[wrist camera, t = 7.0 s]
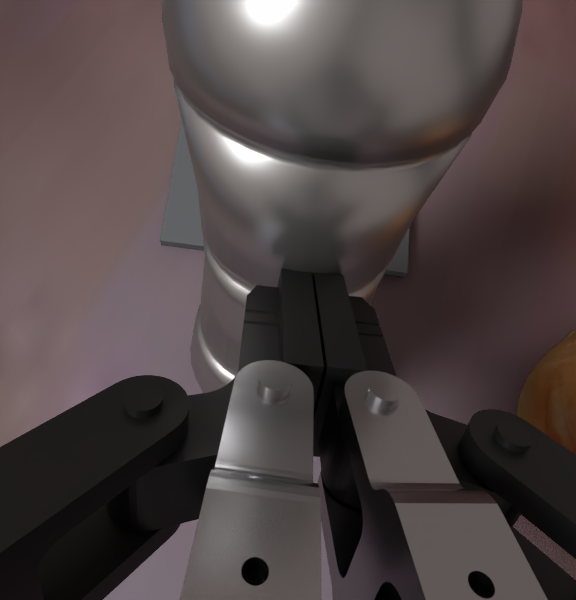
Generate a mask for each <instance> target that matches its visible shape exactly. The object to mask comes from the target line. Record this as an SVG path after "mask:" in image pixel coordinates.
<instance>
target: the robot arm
mask: <svg viewBox="0 0 576 600" xmlns="http://www.w3.org/2000/svg"><path fill="white" fill-rule="evenodd" d="M313 456H317V457H320V461H321V472H320V476H319V479H318V483H317V484H316V483H313ZM521 514H522V515H523V516H524V517H525V518H527V519H528V520H529V521H530V522H531V523H533V524H534V525H535V526H536V527H537V528H539V529H540V530H541V531H542V532H544V533H545V534H546V535H547V536H548V537H550V538H551V539H552V540H553V541H554V542H556V543H557V544H558V545H559V546H561V547H562V548H563V549H564V550H565V551H567V552H568V553H569V554H570V555H571V556H573V557H574V558H575V559H576V455H575V454H574V453H572V452H571V451H569V450H568V449H566V448H565V447H563V446H562V445H561V444H559V443H558V442H556V441H555V440H553V439H552V438H550V437H549V436H547V435H546V434H545V433H543V432H542V431H540V430H539V429H537V428H536V427H534V426H533V425H532V424H530V423H528V422H527V421H525V420H524V419H522V418H520V417H518V416H516V415H513V414H511V413H508V412H504V411H500V410H483V411H479V412H477V413H475V414H474V415H473V416H472V418H471V420H470V422H469V424H468V425H466V424H463V423H460V422H457V421H454V420H451V419H448V418H445V417H442V416H439V415H436V414H434V413H431V412H429V411H427V410H425V408H424V406H423V404H422V402H421V400H420V398H419V396H418V394H417V393H416V392H415V390H414V389H413V388H412V387H411V386H410V385H409V384H407V383H406V382H405V381H403V380H401V379H400V378H398V377H396V374H395V371H394V368H393V365H392V362H391V359H390V356H389V353H388V350H387V346H386V343H385V340H384V338H383V334H382V331H381V328H380V327H379V322H378V319H377V316H376V313H375V310H374V309H373V308H372V307H371V306H370V305H369V304H368V303H367V302H366V301H365V300H364V299H363V297H356V296H349V295H348V291H347V287H346V283H345V279H344V276H343V275H341V274H329V273H314V274H313V278H312V273H311V272H303V271H294V270H289V269H283V268H281V272H280V277H279V281H278V286H277V287H270V286H261V285H256V287H255V288H254V289H253V290H252V291H251V292H250V293H249V294H248V295H247V298H246V307H245V315H244V323H243V332H242V340H241V349H240V358H239V367H238V372H237V375H236V376H235V377H234V379H233V380H232V381H231V382H229V383H228V384H227V385H225V386H224V387H222V388H220V389H218V390H215V391H212V392H208V393H203V394H196V395H189V396H187V394H186V392H185V391H184V389H183V388H182V387H181V386H180V385H179V384H177V383H175V382H174V381H172V380H170V379H167V378H164V377H160V376H153V375H143V376H135V377H131V378H127V379H124V380H122V381H120V382H118V383H115V384H114V385H112V386H110V387H108V388H106V389H105V390H103V391H101V392H99V393H97V394H96V395H94V396H92V397H90V398H88V399H87V400H85V401H83V402H81V403H79V404H78V405H76V406H74V407H72V408H70V409H68V410H67V411H65V412H63V413H61V414H59V415H58V416H56V417H54V418H52V419H50V420H49V421H47V422H45V423H43V424H41V425H40V426H38V427H36V428H34V429H32V430H30V431H29V432H27V433H25V434H23V435H21V436H20V437H18V438H16V439H14V440H12V441H11V442H9V443H7V444H5V445H3V446H2V447H0V600H103V599H104V598H105V597H106V596H107V595H108V594H109V593H110V592H111V591H113V590H114V589H115V588H116V587H117V586H118V585H119V584H120V583H121V582H122V581H123V580H124V579H126V578H127V577H128V576H129V575H130V574H131V573H132V572H133V571H134V570H135V569H136V568H138V567H139V566H140V565H141V564H142V563H143V562H144V561H145V560H146V559H147V558H148V557H149V556H151V555H152V554H153V553H154V552H155V551H156V550H157V549H158V548H159V547H160V546H161V545H162V544H164V543H165V542H166V541H167V540H168V539H169V538H170V537H171V536H172V535H173V534H174V533H175V532H176V530H177V529H178V527H179V526H180V524H181V523H184V522H188V521H192V520H196V519H199V520H198V524H197V528H196V533H195V537H194V541H193V545H192V549H191V554H190V558H189V562H188V566H187V571H186V575H185V579H184V583H183V588H182V592H181V596H180V600H321V522H322V528H323V534H324V540H325V546H326V552H327V558H328V564H329V570H330V576H331V583H332V594H333V600H576V580H574V579H573V578H572V577H571V576H570V575H569V574H567V573H566V572H565V571H564V570H563V569H562V568H560V567H559V566H558V565H557V564H556V563H554V562H553V561H552V560H551V559H550V558H549V557H547V556H546V555H545V554H544V553H543V552H542V551H540V550H539V549H538V548H537V547H536V546H535V545H533V544H532V543H531V542H530V541H529V540H527V539H526V538H525V537H524V536H523V535H522V534H520V533H519V532H518V531H517V530H516V529H515V528H513V525H514V524H515V522H516V521H517V519H518V518H519V516H520V515H521Z"/></svg>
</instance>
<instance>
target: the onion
mask: <svg viewBox="0 0 576 600" xmlns="http://www.w3.org/2000/svg"><path fill="white" fill-rule="evenodd" d="M516 416H518V417H520V418H522V419H524V420H525V421H527V422H528V423H530V424H532V425H533V426H534V427H536V428H537V429H539V430H540V431H542V432H543V433H545V434H546V435H547V436H549V437H550V438H552V439H553V440H555V441H556V442H558V443H559V444H561V445H562V446H563V447H565V448H566V449H568V450H569V451H571V452H572V453H574V454H575V455H576V329H575V330H573V331H572V332H571V333H570V334H568V335H567V336H566V337H565V338H564V339H563V340H561V341H560V342H559V343H558V344H557V345H556V346H554V347H553V348H552V349H550V350H549V351H548V352H547V354H546V355H545V356H544V357H543V358H542V359H541V360H540V361H539V362H538V363H537V364H536V366H535V367H534V368H533V369H532V371H531V372H530V374H529V376H528V378H527V380H526V382H525V383H524V385H523V388H522V391H521V394H520V397H519V402H518V407H517V414H516Z"/></svg>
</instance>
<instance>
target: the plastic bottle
mask: <svg viewBox="0 0 576 600" xmlns="http://www.w3.org/2000/svg"><path fill="white" fill-rule="evenodd" d="M161 4H162V23H163V29H164V35H165V40H166V47H167V54H168V61H169V67H170V70H171V73H172V75H173V77H174V88H175V92H176V97H177V101H178V105H179V110H180V114H181V118H182V123H183V127H184V131H185V136H186V140H187V144H188V149H189V153H190V157H191V162H192V166H193V170H194V175H195V179H196V183H197V188H198V197H199V207H200V216H201V225H202V232H203V243H204V252H205V259H204V270H203V282H202V293H201V304H200V306H199V309H198V312H197V315H196V319H195V324H194V330H193V336H192V342H191V349H190V350H191V364H192V368H193V371H194V374H195V377H196V380H197V382H198V384H199V386H200V388H201V390H202V392H203V393H208V392H212V391H215V390H218V389H220V388H222V387H224V386H225V385H227V384H228V383H229V382H231V381H232V380H233V379H234V377H235V376H236V375H237V372H238V367H239V358H240V349H241V340H242V332H243V323H244V315H245V307H246V298H247V295H248V294H249V293H250V292H251V291H252V290H253V289H254V288H255V287H256V285H261V286H270V287H277V286H278V281H279V277H280V272H281V268H283V269H289V270H294V271H303V272H311V273H312V278H313V274H314V273H329V274H341V275H343V276H344V279H345V283H346V287H347V291H348V295H349V296H356V297H363V299H364V300H365V301H366V302H367V303H368V304H369V305H370V306H372V303H373V300H374V296H375V293H376V290H377V287H378V284H379V283H380V281H381V279H382V277H383V275H384V273H385V271H386V269H387V267H388V264H389V263H390V262H391V260H392V258H393V257H394V255H395V253H396V251H397V249H398V247H399V245H400V243H401V241H402V240H403V238H404V236H405V234H406V232H407V230H408V228H409V226H410V225H411V223H412V221H413V220H414V218H415V217H416V215H417V214H418V212H419V211H420V209H421V208H422V207H423V205H424V204H425V202H426V201H427V199H428V198H429V196H430V195H431V193H432V192H433V191H434V189H435V188H436V186H437V185H438V183H439V182H440V180H441V179H442V177H443V176H444V175H445V173H446V172H447V170H448V169H449V167H450V166H451V164H452V163H453V161H454V160H455V159H456V157H457V156H458V154H459V153H460V151H461V150H462V148H463V147H464V145H465V144H466V143H467V141H468V140H469V138H470V137H471V134H472V132H473V131H474V130H475V129H476V127H477V126H478V125H479V124H480V123H481V121H482V119H483V118H484V116H485V114H486V112H487V111H488V109H489V107H490V105H491V104H492V102H493V100H494V98H495V97H496V95H497V94H498V92H499V90H500V89H501V87H502V85H503V84H504V82H505V80H506V78H507V75H508V72H509V68H510V65H511V61H512V56H513V51H514V47H515V42H516V37H517V32H518V27H519V23H520V18H521V13H522V0H162V2H161Z"/></svg>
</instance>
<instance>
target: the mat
mask: <svg viewBox="0 0 576 600" xmlns="http://www.w3.org/2000/svg"><path fill="white" fill-rule="evenodd" d="M160 242H161V245H166V246H173V247H181V248H189V249H196V250H204V243H203V232H202V225H201V216H200V207H199V197H198V188H197V183H196V179H195V175H194V170H193V166H192V162H191V157H190V153H189V149H188V144H187V140H186V136H185V131H184V127H183V123H182V119H181V124H180V130H179V135H178V141H177V147H176V152H175V158H174V163H173V169H172V175H171V180H170V186H169V192H168V197H167V203H166V208H165V214H164V220H163V225H162V231H161V236H160ZM408 254H409V228H408V230H407V232H406V234H405V236H404V238H403V240H402V241H401V243H400V245H399V247H398V249H397V251H396V253H395V255H394V257H393V258H392V260H391V262H390V263H389V264H388V267H387V269H386V271H385V273H384V274H387V275H395V276H402V277H404V276H405V275H406V274H407V273H408Z"/></svg>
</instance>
